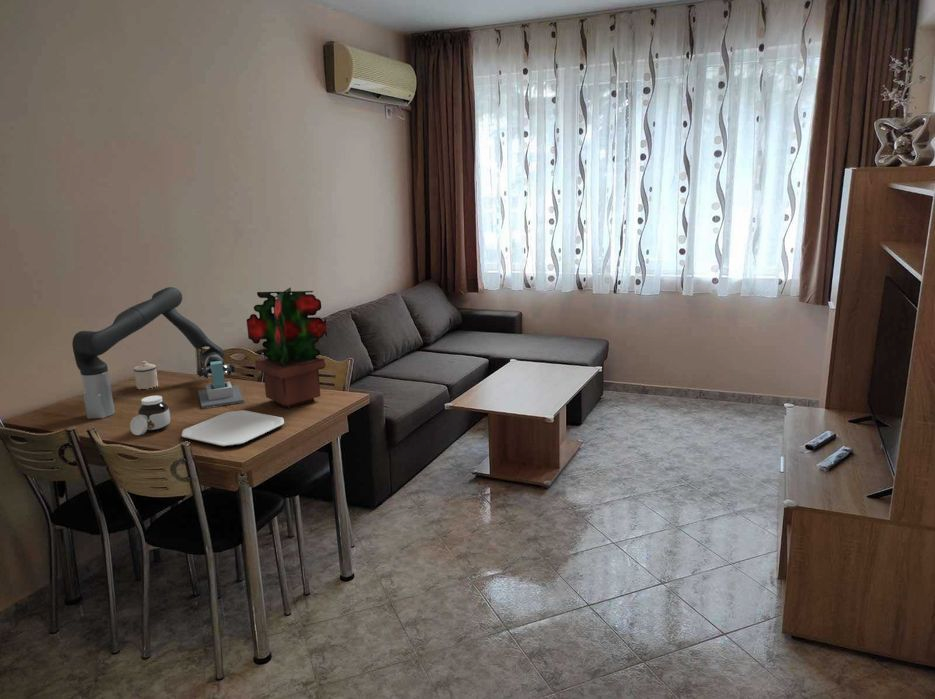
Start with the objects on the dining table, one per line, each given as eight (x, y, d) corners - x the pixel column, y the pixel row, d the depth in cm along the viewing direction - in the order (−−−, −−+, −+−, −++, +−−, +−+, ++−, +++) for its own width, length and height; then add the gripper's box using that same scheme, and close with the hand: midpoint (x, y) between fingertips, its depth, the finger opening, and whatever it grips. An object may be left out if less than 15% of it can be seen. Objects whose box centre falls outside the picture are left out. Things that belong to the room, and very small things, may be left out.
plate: (173, 439, 234) (172, 433, 234) (235, 413, 259) (235, 408, 259) (233, 453, 221) (232, 447, 221) (293, 424, 246) (292, 419, 245)
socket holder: (243, 402, 271) (242, 390, 269) (201, 408, 264) (200, 396, 263) (237, 387, 290) (236, 376, 289) (198, 393, 284) (196, 381, 282)
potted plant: (332, 400, 271) (323, 290, 259) (282, 414, 256) (271, 298, 244) (303, 389, 286) (294, 285, 275) (255, 401, 271) (243, 292, 260)
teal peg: (226, 395, 276) (222, 363, 272) (215, 397, 274) (210, 364, 271) (225, 392, 280) (221, 360, 276) (214, 394, 278) (210, 362, 274)
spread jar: (174, 424, 248) (169, 394, 245) (162, 435, 237) (158, 404, 234) (140, 425, 248) (136, 395, 245) (127, 437, 237) (122, 406, 234)
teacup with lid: (163, 385, 296) (159, 359, 293) (145, 391, 289) (141, 365, 286) (145, 382, 302) (141, 357, 299) (127, 387, 294) (123, 362, 291)
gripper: (196, 358, 283) (198, 367, 269) (231, 354, 289) (235, 363, 275) (198, 375, 285) (200, 385, 271) (233, 370, 291) (237, 380, 277)
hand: (218, 374), depth 273 cm, fingers open, 8 cm apart
